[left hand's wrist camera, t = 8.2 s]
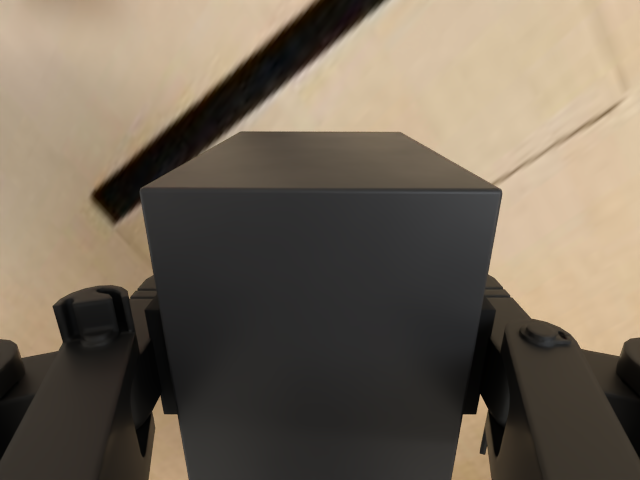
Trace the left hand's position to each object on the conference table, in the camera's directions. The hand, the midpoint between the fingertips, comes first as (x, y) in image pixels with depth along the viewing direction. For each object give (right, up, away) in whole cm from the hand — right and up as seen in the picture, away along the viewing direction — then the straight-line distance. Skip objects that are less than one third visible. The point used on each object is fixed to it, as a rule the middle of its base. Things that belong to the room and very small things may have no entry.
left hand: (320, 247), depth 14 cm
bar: (0, -7, +3) cm, 8 cm away
